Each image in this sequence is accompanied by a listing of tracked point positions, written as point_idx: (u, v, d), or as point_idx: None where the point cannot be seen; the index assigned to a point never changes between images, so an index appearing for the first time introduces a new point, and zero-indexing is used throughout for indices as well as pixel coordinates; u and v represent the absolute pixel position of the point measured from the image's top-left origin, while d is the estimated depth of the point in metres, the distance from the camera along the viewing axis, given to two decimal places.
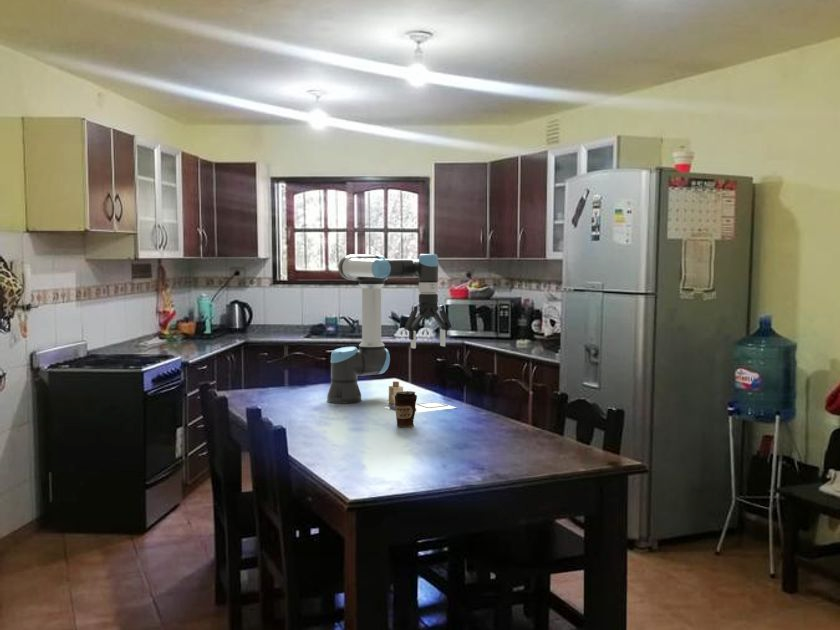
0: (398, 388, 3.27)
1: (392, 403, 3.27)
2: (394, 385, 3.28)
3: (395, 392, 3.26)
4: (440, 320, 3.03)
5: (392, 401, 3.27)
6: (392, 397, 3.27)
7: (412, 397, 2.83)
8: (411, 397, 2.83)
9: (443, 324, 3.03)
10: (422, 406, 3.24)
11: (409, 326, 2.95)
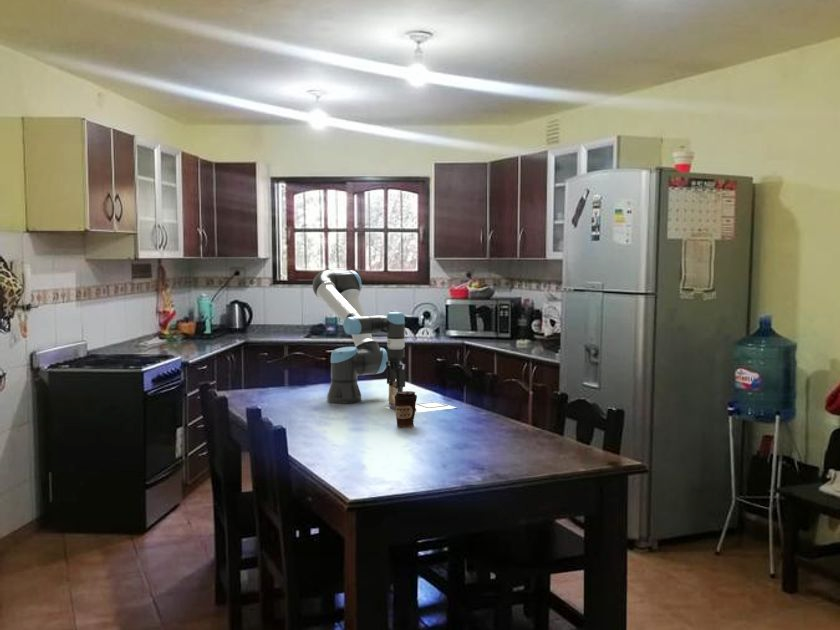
0: None
1: (392, 403, 3.27)
2: (394, 385, 3.28)
3: (395, 392, 3.26)
4: (396, 376, 3.26)
5: (392, 401, 3.27)
6: (392, 397, 3.27)
7: (412, 397, 2.83)
8: (411, 397, 2.83)
9: (396, 382, 3.26)
10: (422, 406, 3.24)
11: (387, 380, 3.33)
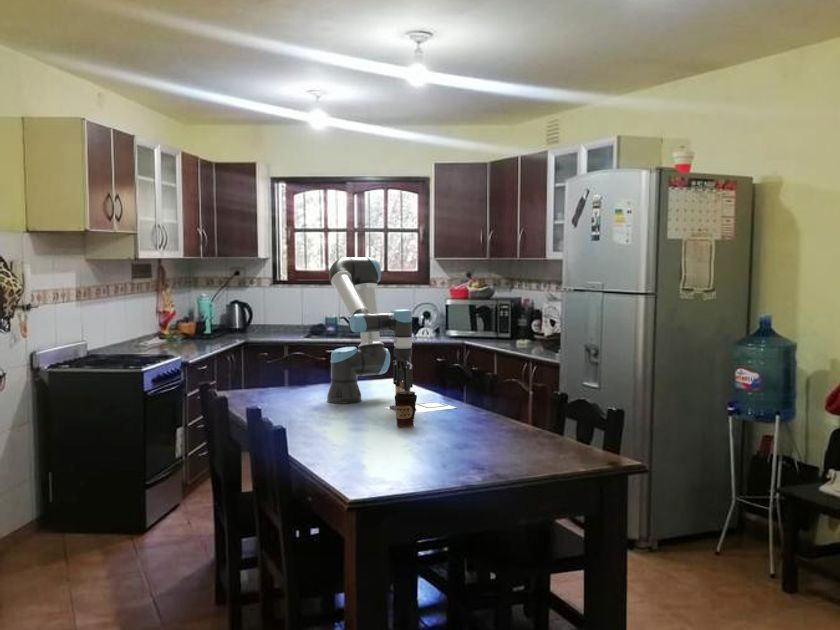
0: None
1: None
2: (401, 385, 3.15)
3: None
4: (403, 377, 3.13)
5: None
6: None
7: (412, 397, 2.83)
8: (411, 397, 2.83)
9: (403, 382, 3.12)
10: (422, 406, 3.24)
11: (393, 380, 3.20)
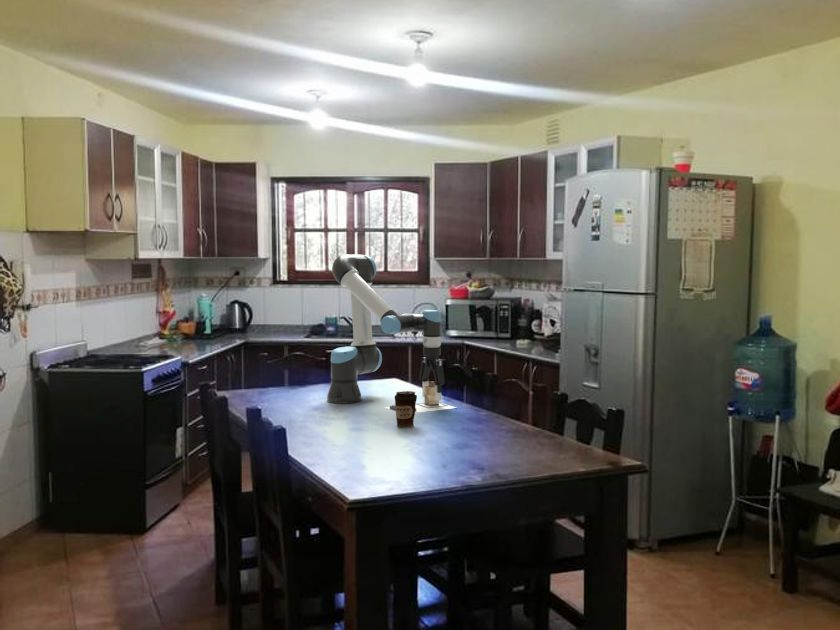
0: (434, 388, 3.25)
1: (428, 403, 3.25)
2: (430, 385, 3.26)
3: (431, 392, 3.24)
4: (434, 374, 3.22)
5: (428, 401, 3.25)
6: (428, 397, 3.25)
7: (412, 397, 2.83)
8: (411, 397, 2.83)
9: (435, 379, 3.21)
10: (422, 406, 3.24)
11: (420, 376, 3.32)
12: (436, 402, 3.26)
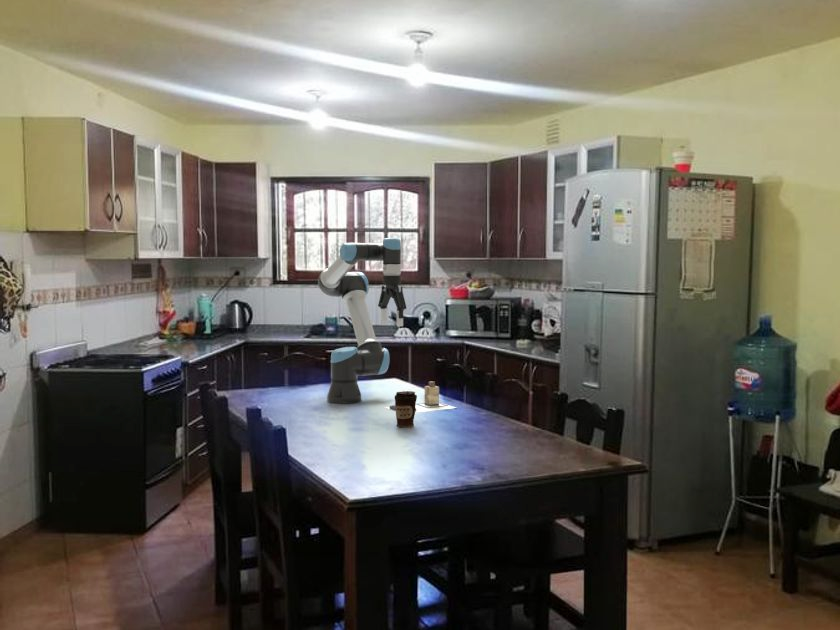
0: (434, 388, 3.25)
1: (428, 403, 3.25)
2: (430, 385, 3.26)
3: (431, 392, 3.24)
4: (395, 301, 3.18)
5: (428, 401, 3.25)
6: (428, 397, 3.25)
7: (412, 397, 2.83)
8: (411, 397, 2.83)
9: (396, 305, 3.17)
10: (422, 406, 3.24)
11: (379, 303, 3.30)
12: (436, 402, 3.26)
